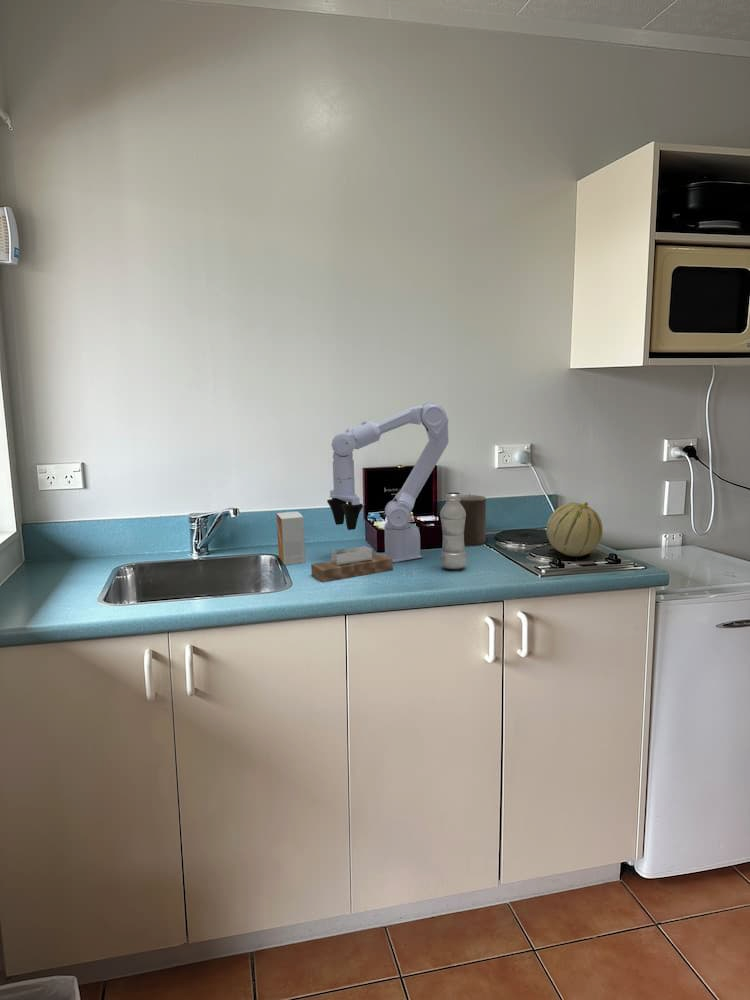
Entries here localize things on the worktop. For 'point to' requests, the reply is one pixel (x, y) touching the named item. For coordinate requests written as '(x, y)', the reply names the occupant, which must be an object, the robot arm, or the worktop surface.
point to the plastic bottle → (453, 532)
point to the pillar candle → (474, 519)
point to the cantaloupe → (574, 529)
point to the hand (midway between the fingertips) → (345, 526)
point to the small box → (291, 538)
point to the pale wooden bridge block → (351, 556)
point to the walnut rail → (351, 568)
